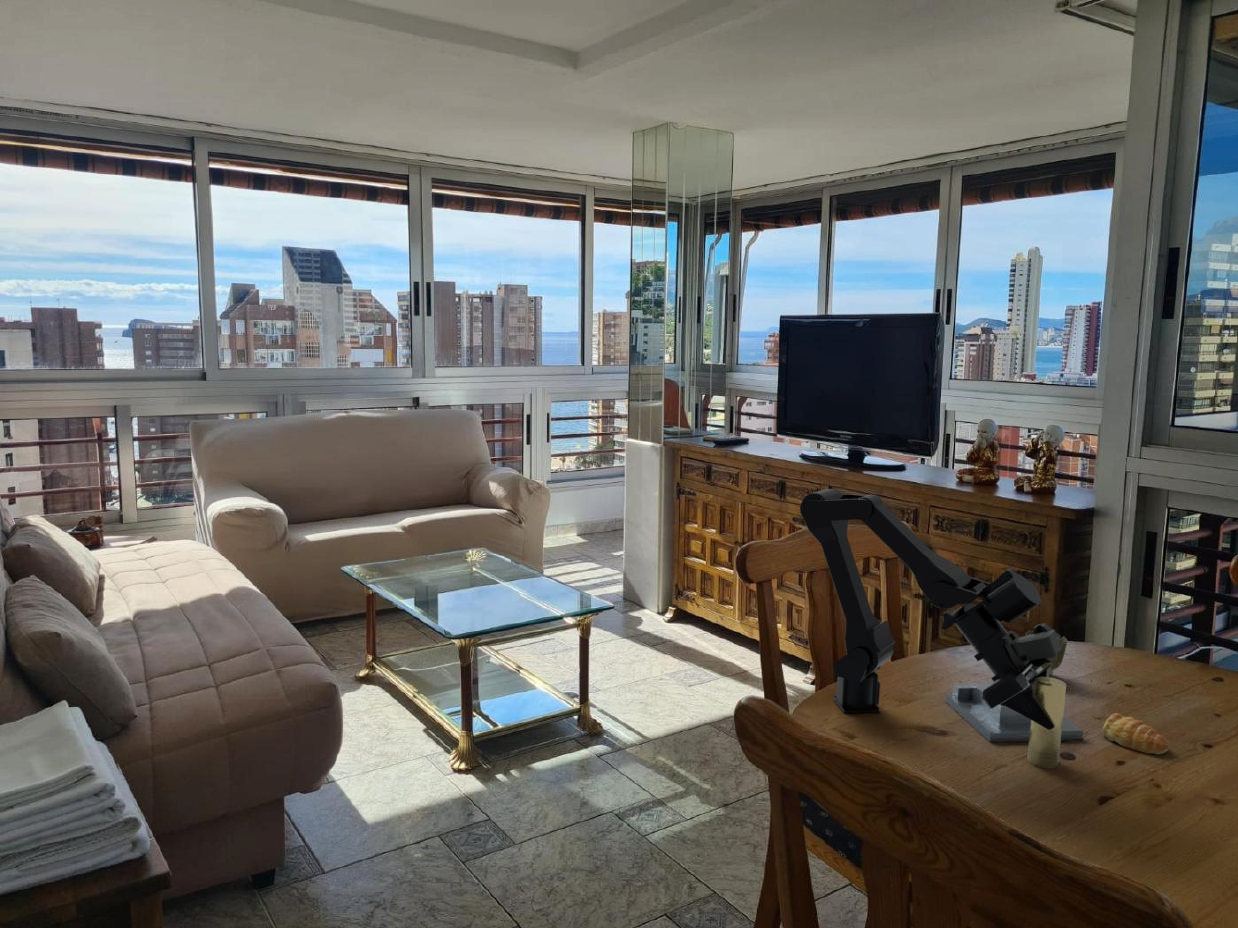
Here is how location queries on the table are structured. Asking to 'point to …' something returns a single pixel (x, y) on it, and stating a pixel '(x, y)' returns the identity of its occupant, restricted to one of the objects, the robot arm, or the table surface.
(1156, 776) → the table surface
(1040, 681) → the sleeve
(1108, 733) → the pastry
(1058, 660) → the cup
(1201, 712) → the table surface
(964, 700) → the jig
